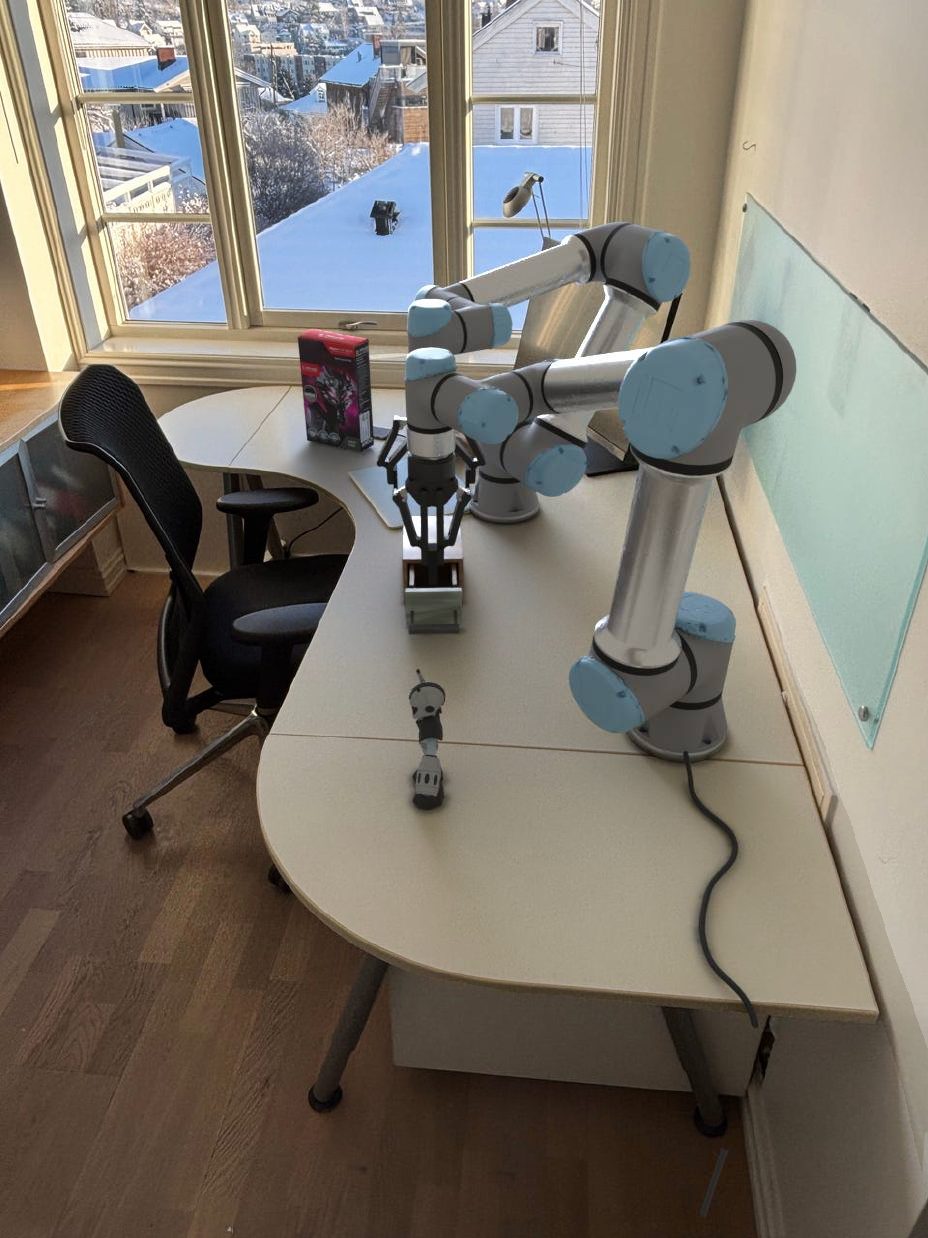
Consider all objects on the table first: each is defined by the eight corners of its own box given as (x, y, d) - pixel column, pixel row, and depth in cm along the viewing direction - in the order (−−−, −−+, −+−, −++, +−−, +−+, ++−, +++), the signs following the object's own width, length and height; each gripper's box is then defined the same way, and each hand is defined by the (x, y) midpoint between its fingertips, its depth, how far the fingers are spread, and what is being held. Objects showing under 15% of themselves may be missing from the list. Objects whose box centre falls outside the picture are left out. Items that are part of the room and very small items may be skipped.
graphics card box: (304, 441, 235) (294, 334, 220) (320, 432, 240) (311, 327, 225) (361, 455, 228) (354, 345, 213) (376, 445, 233) (371, 337, 218)
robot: (448, 840, 124) (447, 726, 113) (411, 841, 124) (407, 727, 112) (443, 742, 140) (442, 634, 129) (411, 743, 140) (408, 635, 129)
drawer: (462, 648, 159) (463, 611, 155) (405, 649, 159) (404, 611, 155) (458, 581, 177) (458, 546, 173) (407, 582, 177) (406, 547, 173)
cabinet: (462, 603, 173) (463, 558, 168) (403, 604, 173) (402, 559, 167) (459, 558, 187) (460, 515, 182) (405, 558, 186) (403, 516, 181)
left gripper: (498, 383, 168) (495, 489, 180) (361, 384, 167) (367, 490, 179) (501, 398, 162) (498, 507, 174) (359, 399, 161) (365, 508, 173)
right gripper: (472, 441, 146) (470, 568, 160) (390, 441, 146) (395, 569, 159) (474, 460, 140) (472, 591, 153) (388, 461, 140) (393, 592, 153)
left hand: (431, 498), depth 176 cm, fingers open, 13 cm apart
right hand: (432, 580), depth 156 cm, fingers closed
